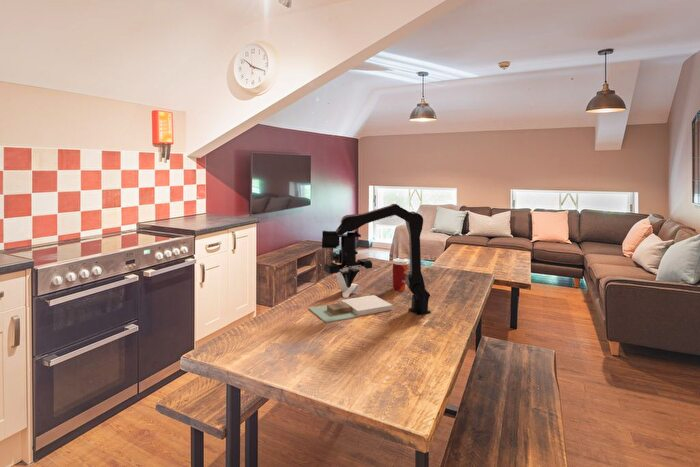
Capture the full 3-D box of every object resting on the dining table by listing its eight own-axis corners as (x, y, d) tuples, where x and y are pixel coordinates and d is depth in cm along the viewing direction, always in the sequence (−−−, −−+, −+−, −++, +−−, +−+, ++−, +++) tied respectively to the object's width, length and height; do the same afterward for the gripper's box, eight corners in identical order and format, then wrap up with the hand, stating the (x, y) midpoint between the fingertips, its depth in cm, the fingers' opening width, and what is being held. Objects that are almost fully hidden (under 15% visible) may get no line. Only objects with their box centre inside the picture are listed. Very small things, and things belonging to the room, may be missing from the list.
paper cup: (408, 291, 189) (409, 262, 187) (391, 291, 189) (392, 261, 187) (406, 286, 197) (407, 258, 194) (390, 286, 197) (391, 257, 194)
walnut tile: (345, 307, 166) (345, 302, 165) (352, 311, 160) (352, 306, 160) (327, 309, 162) (327, 305, 161) (333, 314, 157) (333, 309, 156)
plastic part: (359, 292, 186) (360, 267, 185) (348, 298, 178) (348, 272, 176) (345, 289, 190) (345, 265, 188) (333, 295, 182) (334, 269, 180)
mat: (359, 316, 156) (359, 315, 156) (325, 322, 150) (325, 321, 150) (339, 304, 170) (339, 303, 170) (308, 308, 163) (308, 308, 163)
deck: (392, 309, 165) (392, 305, 164) (357, 316, 157) (357, 311, 157) (373, 299, 177) (373, 295, 177) (340, 304, 169) (340, 300, 169)
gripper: (358, 242, 169) (358, 279, 172) (317, 246, 160) (318, 285, 163) (373, 247, 160) (372, 285, 162) (330, 252, 151) (330, 293, 153)
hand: (348, 287), depth 160 cm, fingers closed
